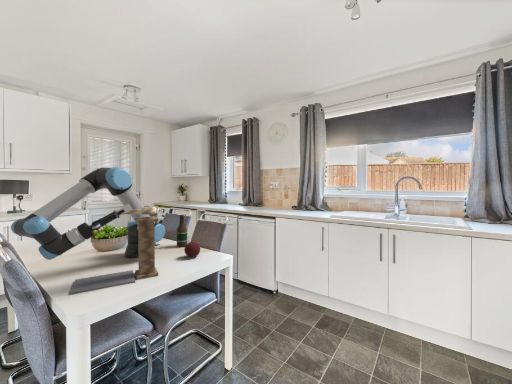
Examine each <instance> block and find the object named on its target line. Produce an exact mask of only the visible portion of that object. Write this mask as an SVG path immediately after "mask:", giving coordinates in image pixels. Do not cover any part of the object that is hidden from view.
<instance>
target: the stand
mask: <svg viewBox="0 0 512 384" xmlns="http://www.w3.org/2000/svg"><path fill="white" fill-rule="evenodd" d="M135 222H136V223H138V253H139V257H138V269H135V271H134V272H135V274H134V275H135V277H136V278H135V279H136V280H144V279H149V278H154V277H158V276H159V272H158V269H157V267H156V266H155V265H156V264H155V263H156V262H155V258H156V257H155V256H156V249H155V247H156V246H155V223H154V222H157V223H159V218H158V217H156V216H150V217H135Z"/></svg>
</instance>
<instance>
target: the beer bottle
mask: <svg viewBox="0 0 512 384" xmlns="http://www.w3.org/2000/svg"><path fill="white" fill-rule="evenodd" d="M185 223H186V222H185V214H180V215H179V223H178V226H177V229H176V247H177V248H180V247H182V248H185V246H186V245H187V244H188V229H187V227H186V225H185Z"/></svg>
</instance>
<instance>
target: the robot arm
mask: <svg viewBox="0 0 512 384" xmlns="http://www.w3.org/2000/svg"><path fill="white" fill-rule="evenodd" d="M132 179H133V177H132V174H131V173H130V171H128V170H127V169H126V168H123V167H119V166H112V167H100V168H96V169H94V170H93V171H91V172H89V173H87V174H86V175H85V176H82V177H81V178H80V179H79V180H78V183H76V184H74V185H73V186H71V187H70V188H68V189H67V190H65V191H64V192H62V193H61V194H60V195H58V196H56V197H55V198H53V199H52V200H50V201H48V202H47V203H46V204H44V205H43V206H41V207H40V208H38V209H36V210H35V211H34V212H32V213H30V214H29V215H27V216H26V217H23V218H19V219H16V220H14V221H13V222H12V223H11V224H10V230H11V232H12V233H13V234H15V235H16V236H19V237H26V238H30V239H34V240H35V241H36V242H37V243H39V245H40V246H38V252H39V254H40V255H41V256H42V257H43V258H44V259H45V260H48V261H50V260H53V259H56V258H57V257H59V256H62V255H63V254H65V253H66V252H68V251H69V250H71V249H73V248H74V247H77V246H79V245H81V244H83V243H84V242H85V241H86V240H89V239H90V238H92V237H95V232H94V231H98V230H100V229H101V228H102V227H105V226H106V225H107V224H109V223H111V222H113V221H114V220H116V219H120V218H121V216H122V214H123V215H125V214H124V213H126V212H128V211H129V210H132V209H142V208H145V206H144V205H143V203H142V201H140V199H139V198H138V196H137V194H136V193H135V191H134V190H133V181H132ZM102 189H105V190H107V191H108V192H109V193H110V194H111V196H113V197H116V198H117V199H118V200H119V201H120V203H121V204H122V205H123V206H122V207H120V208H119V209H117V210H118V211H116V212H115V210H116V209H114V210H113V211H112V212H110V213H109V214H107V215H104V216H103V217H100V218H98V219H97V220H93V221H92V222H91V224H90V225H89V224H88V223H87V222H83V223H80V224H79V225H78V226H76V227H73V228H72V229H70V228H69V229H67V231H66V232H64V233H62V234H61V233H60V232H59V231H58V229H56V228H55V227H54V225H53V224H52V223H51V222H52V221H54V220H55V219H57V218H58V217H59V216H61V215H62V214H63V213H65V212H66V211H68V210H69V209H70V208H72V207H73V206H75V205H76V204H77V203H79V202H80V201H81V200H83V199H85V198H86V197H87V196H88V195H90V194H94V193H96V192H97V191H98V192H99V190H102ZM129 215H130V217H131V218H132V219H133V220H132V221H128V222H127V224H126V226H127V227H126V228H127V229H126V231H127V233H126V234H127V244H126V248H125V251H124V257H125V258H127V259H136V258H137V259H139V253H138V223H136V222H135V217H151V216H150V215H151V214H148V215H145V214H142V213H139V214H129ZM154 223H155V242H156V243H159V242H161V241H162V239H163V238H164V237H165V234H166V227H165V226H164V225H163V224H162V223H159V222H154Z"/></svg>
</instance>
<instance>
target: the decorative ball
mask: <svg viewBox="0 0 512 384" xmlns="http://www.w3.org/2000/svg"><path fill="white" fill-rule="evenodd" d="M200 252H201V246H200V244H199V243H198V242H197V241H190V242H187V245H186V246H185V247H184V254H185V255H186V256H187V257H188V258H195V257H197V256H198V255H200Z"/></svg>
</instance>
